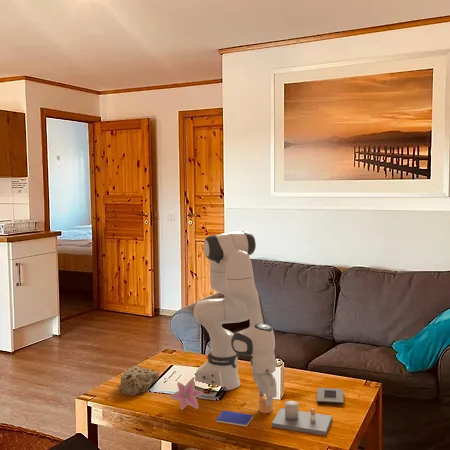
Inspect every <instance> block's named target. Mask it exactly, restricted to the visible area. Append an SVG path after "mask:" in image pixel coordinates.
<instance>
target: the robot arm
mask: <svg viewBox="0 0 450 450" xmlns="http://www.w3.org/2000/svg"><path fill="white" fill-rule="evenodd" d="M256 244H257V243H256V238H255V235H253V233H251V232H249V231H246V230H245V231H230V232H229V231H228V232H224V233H220V234H219V233H218V234H212V235H208V236H207V237H205V239H204V241H203V253H204V256H205V257H206V258H207V259H208V260H209V284H210V287H211V288H212V290H214V291H215V292H216V293H220V294H221V295H223V296H224V297H221V298H208V299H207V298H206V299H202V300H199V301H197V302H196V304H195V305H194V307H193V316H194V319H195V320H196V322H197V323H198V324H200V325H202V326H203V327H204V329H205V330H206V331H207V333H208V335H209V339H210V349H211V350H210V351H209V353H208V354H207V355H206V358H205V359H206V360H207V361H205V362H204V363H203V364H202V365H200V366H199V367H198V368H197V369H196V371H195V376H194V377H195V381H198V382H202V383H206V384H210V385H217V386H221V387H226V389H227V390H226V391H231V390H234V389H237V388H239V387H240V386H241V380H240V377H239V372H238V371H239V370H238V365H239V364H238V361H239V360H238V359H239V357H238V356H244V357H245V356H247V357H248V356H251V357H252V359H250V366H251V370H252V378H253V381H254V382H255V384H256V386H257V391H258V396H259V398H260V397H261V396H264V395H266V405H267V406H271V400H273V399H274V398H277V394H278V393H277V381H276V377H275V376H274V375H273V373H274V372H275V371H276V356H275V349H276V342H275V340H276V339H275V331H274V329H273V328H272V327H271V325H269V324H266V321H265V316H264V310H263V305H262V301H261V296H260V293H259V290H258V289H257V288H256V284H255V279H254V277H255V276H254V270H253V265H252V264H253V263H252V261H251V260H252V259H251V257H250V256H251V255H253V254H254V253H255V250H256V247H257V245H256ZM248 320H249V327H247V328H244V329H242V330H239V331H237V332H235V333H233V332H232V331H231V330H229V329H225V328H224V327H222V325H223V324H233V323H234V324H235V323H242V322H246V321H248Z"/></svg>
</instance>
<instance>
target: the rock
mask: <svg viewBox="0 0 450 450" xmlns="http://www.w3.org/2000/svg"><path fill="white" fill-rule="evenodd" d="M122 373H123V374H122V375H121V378H120V384H119V387H118V388H119V390H120V392H121V393H123V395H124V394H125V396H137V395H138V394H141V393H140V392H142V393H145V392H146V391H148V390H149V389H150V387H151V386H152V385H153V384H155V383H156V382H158V381H159V377H160V372H159V371H158V370H154V369H149V368H145V367H142V366H140V365H133V366H131V367H129V368H128V369H126V370H124V371H123V372H122ZM157 380H158V381H157ZM155 381H156V382H155ZM132 394H134V395H132ZM136 394H137V395H136Z"/></svg>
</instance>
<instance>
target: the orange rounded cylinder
mask: <svg viewBox="0 0 450 450" xmlns="http://www.w3.org/2000/svg"><path fill="white" fill-rule="evenodd" d="M258 399H259V400H258V411H259V412H260V413H263V414H270V413H272V412H273V410H274V405H273V402H274V401H273V399H272V400H271V406H267V405H266V395H265V394H264V396H261V397H260V396H259V398H258Z"/></svg>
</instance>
